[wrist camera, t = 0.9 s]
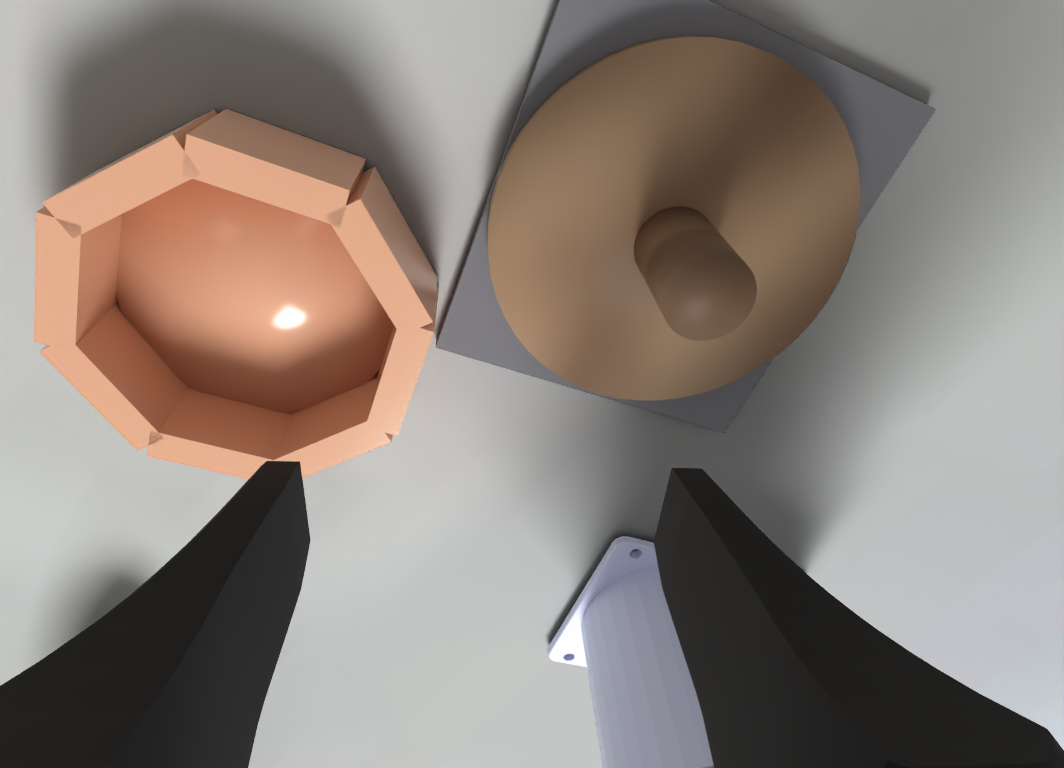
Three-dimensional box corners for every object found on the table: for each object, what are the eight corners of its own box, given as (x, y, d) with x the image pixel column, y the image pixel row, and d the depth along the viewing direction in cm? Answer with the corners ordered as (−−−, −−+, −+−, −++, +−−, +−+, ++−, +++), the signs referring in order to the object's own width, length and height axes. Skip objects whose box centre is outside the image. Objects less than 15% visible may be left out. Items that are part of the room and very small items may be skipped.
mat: (928, 106, 20) (935, 109, 19) (720, 426, 25) (723, 432, 25) (580, -61, 17) (582, -61, 16) (436, 341, 23) (435, 347, 22)
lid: (924, 125, 19) (1029, 167, 16) (730, 422, 25) (775, 504, 21) (573, -39, 17) (602, -36, 13) (440, 334, 22) (433, 412, 18)
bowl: (470, 196, 20) (469, 231, 17) (382, 451, 25) (372, 507, 22) (101, 63, 17) (37, 83, 15) (82, 375, 22) (32, 430, 20)
